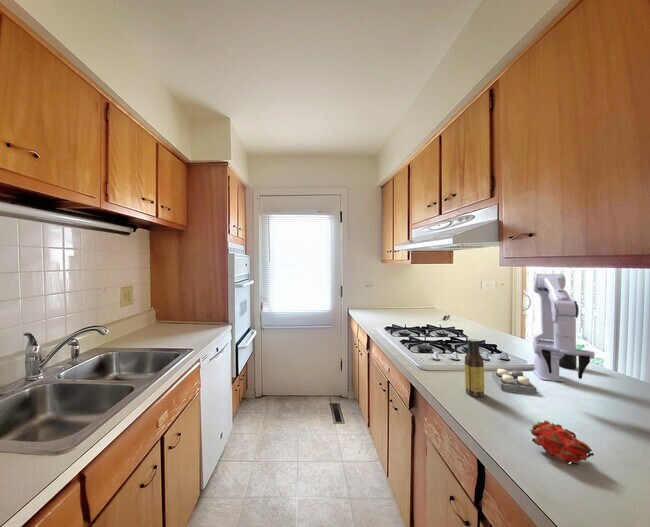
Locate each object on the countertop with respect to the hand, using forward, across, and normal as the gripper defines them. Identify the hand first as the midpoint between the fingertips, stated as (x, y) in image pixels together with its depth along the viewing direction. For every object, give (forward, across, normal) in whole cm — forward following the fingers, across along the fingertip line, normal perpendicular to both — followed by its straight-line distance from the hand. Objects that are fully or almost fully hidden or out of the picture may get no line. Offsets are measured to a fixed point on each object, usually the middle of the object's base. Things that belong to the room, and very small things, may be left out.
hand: (564, 375), depth 94 cm
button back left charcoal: (+7, -14, +11) cm, 19 cm away
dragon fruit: (+10, -3, -35) cm, 37 cm away
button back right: (+8, -19, +9) cm, 22 cm away
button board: (+10, -15, +7) cm, 19 cm away
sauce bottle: (+10, -26, -10) cm, 30 cm away
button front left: (+7, -12, +5) cm, 15 cm away
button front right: (+8, -16, +3) cm, 18 cm away
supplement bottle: (+10, +4, +46) cm, 47 cm away
